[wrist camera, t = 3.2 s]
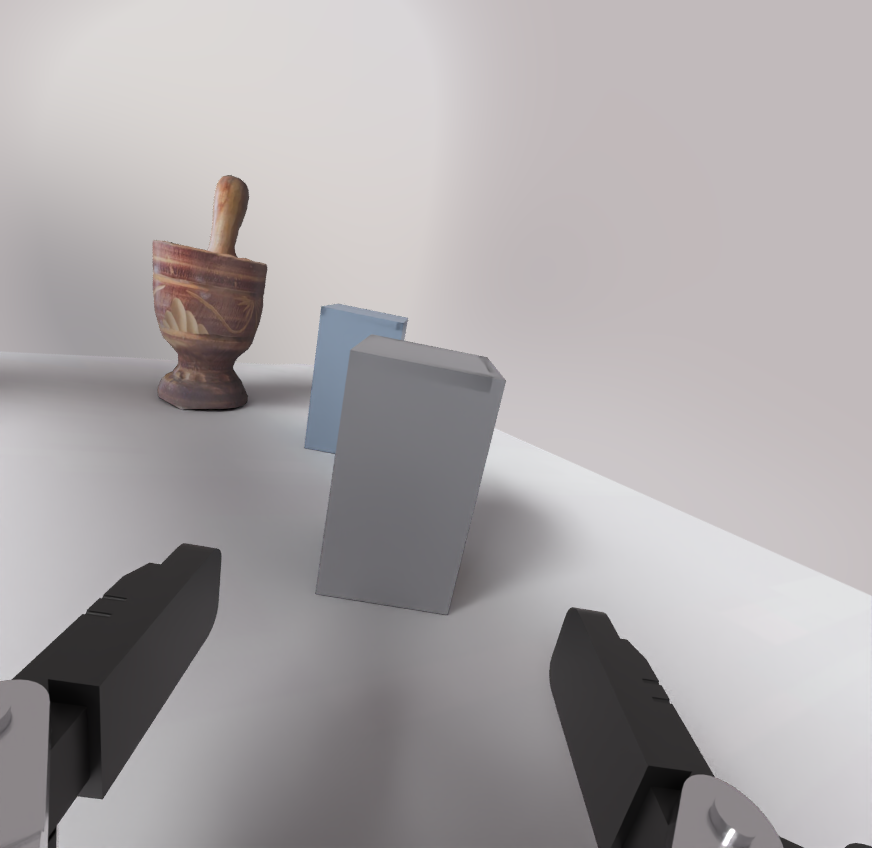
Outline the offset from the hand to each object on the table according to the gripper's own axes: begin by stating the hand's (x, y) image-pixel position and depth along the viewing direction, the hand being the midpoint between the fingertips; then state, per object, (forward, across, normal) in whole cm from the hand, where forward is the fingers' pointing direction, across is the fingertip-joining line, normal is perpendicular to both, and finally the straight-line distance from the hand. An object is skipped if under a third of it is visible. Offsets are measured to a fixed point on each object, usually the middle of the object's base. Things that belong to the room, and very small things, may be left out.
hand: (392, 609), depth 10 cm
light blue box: (+27, +5, +7) cm, 29 cm away
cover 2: (+11, 0, +7) cm, 13 cm away
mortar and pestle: (+33, +20, +7) cm, 39 cm away
